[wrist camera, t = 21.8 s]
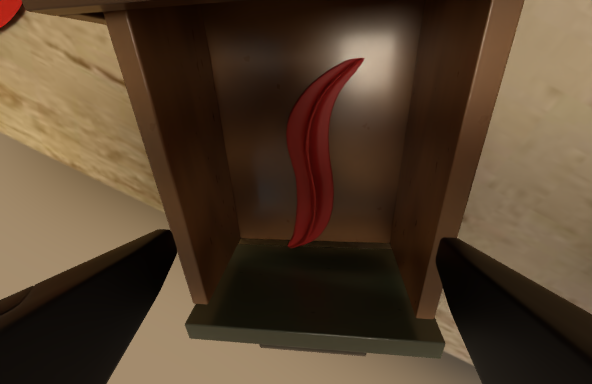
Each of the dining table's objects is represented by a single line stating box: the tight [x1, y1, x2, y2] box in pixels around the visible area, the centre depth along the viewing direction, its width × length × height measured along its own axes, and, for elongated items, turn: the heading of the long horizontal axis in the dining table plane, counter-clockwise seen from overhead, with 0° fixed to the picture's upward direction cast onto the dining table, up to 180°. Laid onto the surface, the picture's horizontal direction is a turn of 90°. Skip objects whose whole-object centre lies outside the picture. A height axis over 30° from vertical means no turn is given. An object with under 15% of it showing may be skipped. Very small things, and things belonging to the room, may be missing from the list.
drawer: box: [103, 0, 524, 358], centre depth 13 cm, size 23×13×7 cm, turn 2°
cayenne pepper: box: [286, 58, 365, 248], centre depth 14 cm, size 12×5×2 cm, turn 157°
